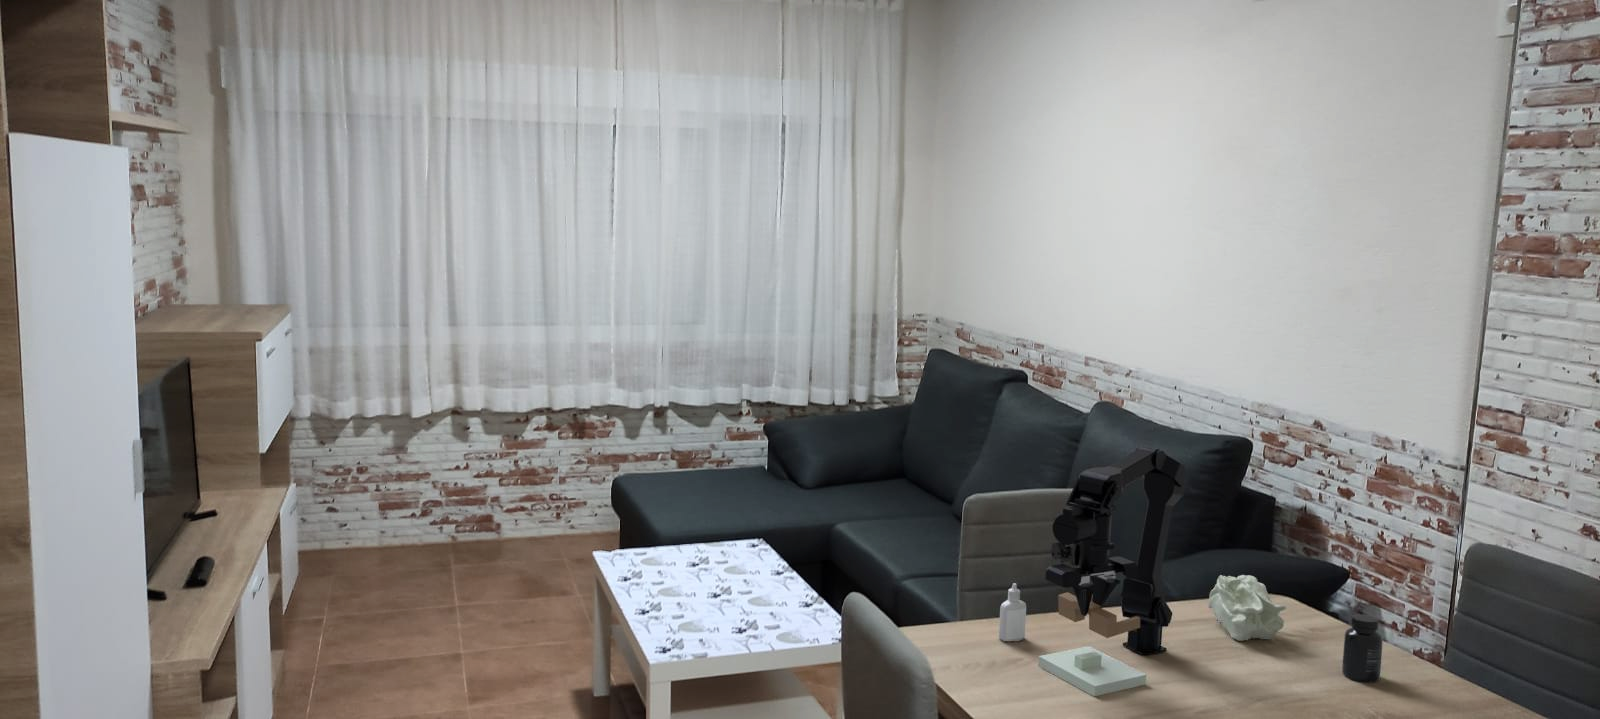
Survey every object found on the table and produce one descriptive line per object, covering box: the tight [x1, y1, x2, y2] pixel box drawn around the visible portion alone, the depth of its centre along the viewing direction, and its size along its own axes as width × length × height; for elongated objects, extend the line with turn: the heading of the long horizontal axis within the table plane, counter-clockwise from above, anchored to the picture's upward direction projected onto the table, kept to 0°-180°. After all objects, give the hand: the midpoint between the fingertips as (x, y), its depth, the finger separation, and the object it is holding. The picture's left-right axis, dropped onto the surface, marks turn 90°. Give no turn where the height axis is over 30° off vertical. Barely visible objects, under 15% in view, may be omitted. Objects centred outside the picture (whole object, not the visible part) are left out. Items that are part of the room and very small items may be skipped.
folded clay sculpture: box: [1208, 574, 1287, 642], centre depth 252 cm, size 18×13×16 cm
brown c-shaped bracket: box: [1057, 592, 1140, 639], centre depth 227 cm, size 8×14×4 cm, turn 27°
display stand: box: [1037, 645, 1147, 697], centre depth 226 cm, size 13×16×4 cm
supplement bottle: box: [1341, 614, 1384, 683], centre depth 229 cm, size 7×7×12 cm
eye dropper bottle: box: [998, 582, 1027, 643], centre depth 244 cm, size 4×6×12 cm
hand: (1089, 614), depth 225 cm, fingers closed on brown c-shaped bracket, 2 cm apart
